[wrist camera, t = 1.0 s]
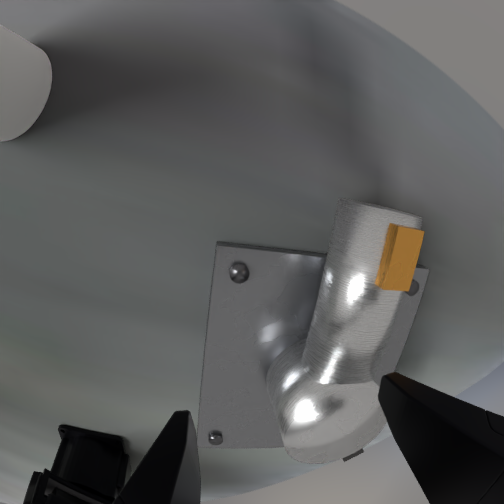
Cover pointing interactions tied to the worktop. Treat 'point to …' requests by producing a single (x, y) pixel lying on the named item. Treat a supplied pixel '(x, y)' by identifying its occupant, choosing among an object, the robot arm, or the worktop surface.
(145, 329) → the worktop surface
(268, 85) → the worktop surface
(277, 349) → the flange
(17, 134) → the cylindrical container
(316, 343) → the collar
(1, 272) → the worktop surface
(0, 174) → the worktop surface
